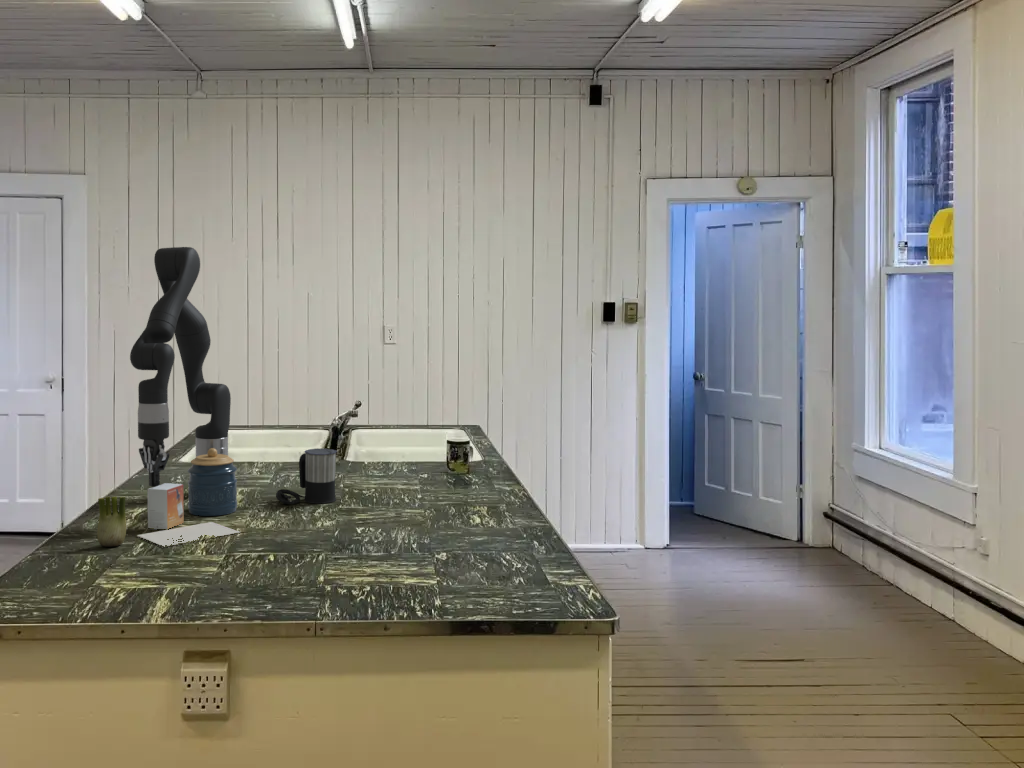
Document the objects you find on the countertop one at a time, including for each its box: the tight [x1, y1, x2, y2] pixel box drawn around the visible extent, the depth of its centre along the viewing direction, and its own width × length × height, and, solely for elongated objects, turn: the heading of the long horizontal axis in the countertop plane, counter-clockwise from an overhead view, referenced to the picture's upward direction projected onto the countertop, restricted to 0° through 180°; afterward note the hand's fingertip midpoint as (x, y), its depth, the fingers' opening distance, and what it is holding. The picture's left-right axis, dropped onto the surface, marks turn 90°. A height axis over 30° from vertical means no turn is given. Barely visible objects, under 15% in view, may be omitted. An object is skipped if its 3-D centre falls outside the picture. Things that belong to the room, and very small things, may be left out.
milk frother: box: [275, 447, 338, 505], centre depth 268 cm, size 14×16×15 cm
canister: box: [187, 448, 238, 517], centre depth 254 cm, size 13×13×18 cm
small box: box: [147, 482, 185, 530], centre depth 237 cm, size 8×6×10 cm
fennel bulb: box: [96, 495, 127, 548], centre depth 218 cm, size 6×5×12 cm
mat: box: [136, 521, 241, 547], centre depth 230 cm, size 20×14×1 cm
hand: (154, 486), depth 240 cm, fingers closed
